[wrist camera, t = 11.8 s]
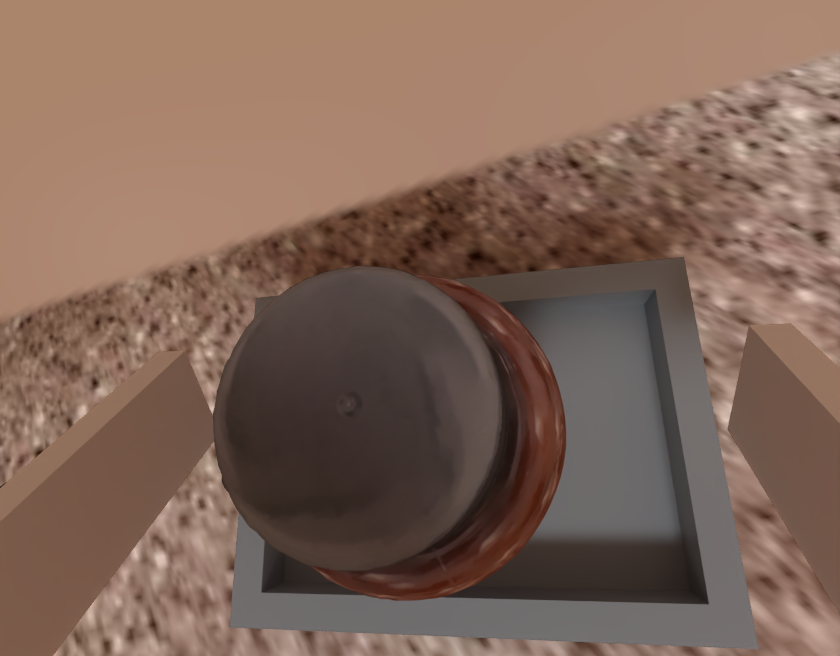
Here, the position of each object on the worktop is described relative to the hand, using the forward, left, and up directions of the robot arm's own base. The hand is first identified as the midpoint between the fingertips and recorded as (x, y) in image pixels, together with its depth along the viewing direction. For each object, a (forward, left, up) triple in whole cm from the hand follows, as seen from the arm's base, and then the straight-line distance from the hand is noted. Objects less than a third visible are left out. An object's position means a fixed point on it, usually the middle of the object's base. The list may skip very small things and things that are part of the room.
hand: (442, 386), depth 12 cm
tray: (+1, 0, -7) cm, 7 cm away
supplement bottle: (+1, -1, -6) cm, 6 cm away
